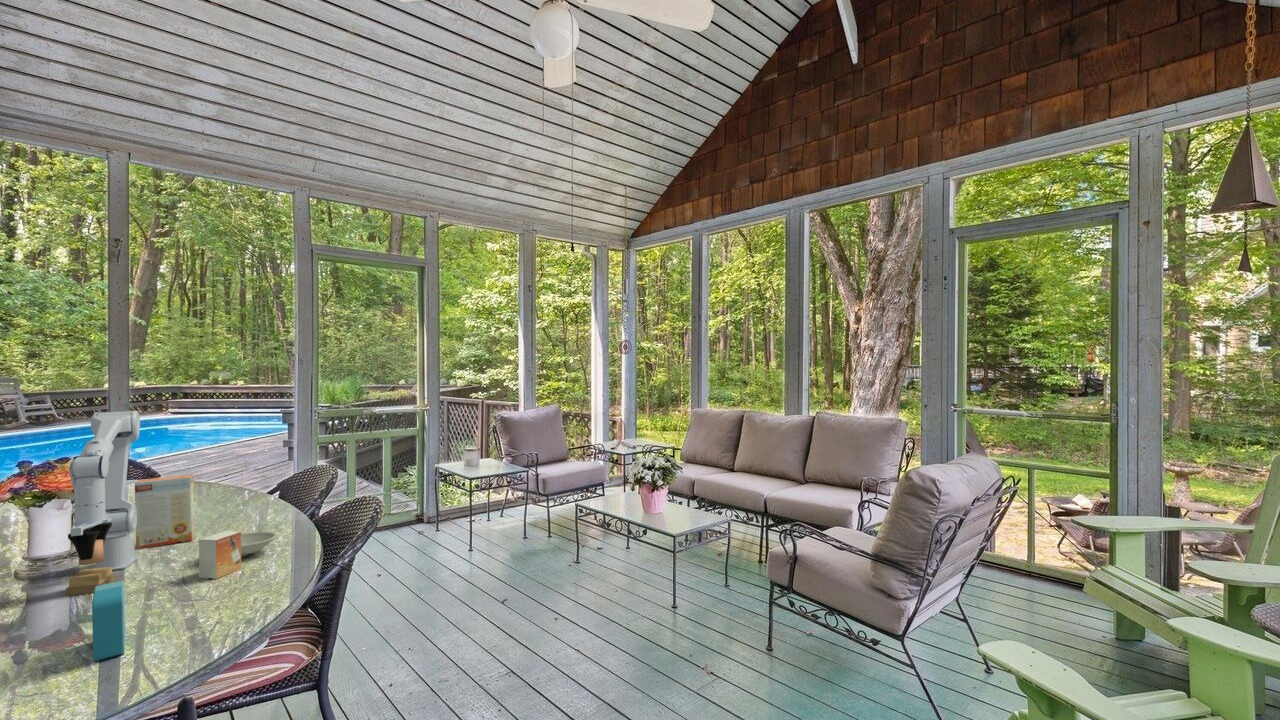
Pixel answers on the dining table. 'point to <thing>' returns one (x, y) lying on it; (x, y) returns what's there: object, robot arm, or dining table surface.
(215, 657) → the dining table surface
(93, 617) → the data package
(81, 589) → the tan square slab
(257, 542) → the dish
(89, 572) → the oak top block
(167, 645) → the dining table surface
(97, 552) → the terracotta cylinder
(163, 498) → the cracker box
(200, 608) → the dining table surface
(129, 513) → the robot arm
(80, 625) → the dining table surface
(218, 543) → the small box
